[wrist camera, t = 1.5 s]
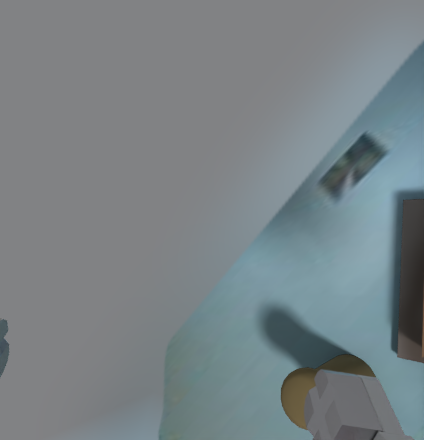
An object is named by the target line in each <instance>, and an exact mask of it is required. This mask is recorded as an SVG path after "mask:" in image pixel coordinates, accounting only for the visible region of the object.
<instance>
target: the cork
mask: <svg viewBox="0 0 424 440" xmlns="http://www.w3.org/2000/svg"><path fill="white" fill-rule="evenodd" d="M321 369H322V370H329V371H336V372H343V373H350V374H355V375H363V376H369V377H376V376H375V375H374V373H373V371H372V369H371V368H370V367H369V366H368V365H367V364H366V363H365V362H364V361H363V360H361V359H359V358H358V357H356V356H352V355H348V354H345V355H338V356H337V357H335V358H333V359H331V360H330V361H328V362H326V363H324V364H323V365H321V366H319V367H318V368H316V369H313V368H309V367H307V368H299V369H296V370H294V371H293V372H291V373H290V374H289V375H288V376H287V377H286V378H285V380H284V382H283V385H282V388H281V402H282V406H283V409H284V411H285V413H286V415H287V416H288V417H289V419H290V420H291V421H292V422H293V423H295V424H296V425H297V426H298V427H300V428H303V429H305V430H308V429H307V428H306V423H305V418H304V405H305V398H306V396H307V394H308V391H309V390H310V389H312V388H314V387H315V386H316V384H315V380H314V378H315V376H316V374H317V372H318V371H319V370H321Z"/></svg>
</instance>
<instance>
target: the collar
mask: <svg viewBox="0 0 424 440" xmlns="http://www.w3.org/2000/svg"><path fill="white" fill-rule="evenodd" d="M397 357H399V358H403V359H408V360H412V361H417V362H422V363H424V199H414V200H403V224H402V250H401V276H400V302H399V329H398V355H397Z"/></svg>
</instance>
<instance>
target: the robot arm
mask: <svg viewBox="0 0 424 440" xmlns="http://www.w3.org/2000/svg"><path fill="white" fill-rule="evenodd" d="M7 332H8V326H7V321H6V320H4V319H0V377H1V375H2V373H3V371H4V368H5V366H6V363H7V361H8V355H9V344H8V342H7V341H6V340H5V339H4V336H5V335H6V333H7ZM314 380H315V384H316V386H315V387H314V388H312V389H310V390H309V391H308V394H307V396H306V398H305V405H304V418H305V423H306V428H307V429H308V430H309V431H310V433H311V434H312V435H313V436H314V438H313V440H414V439H413V438H412V437H411V436H407V435H405V434H404V432H403V430H402V428H401V426H400V424H399V422H398V420H397V417H396V415H395V413H394V411H393V409H392V407H391V405H390V403H389V400H388V398H387V396H386V394H385V392H384V390H383V388H382V385H381V383H380V381H379V380H378V379H377V378H376V377H369V376H363V375H355V374H350V373H343V372H336V371H329V370H322V369H321V370H319V371H318V372H317V374H316V376H315V378H314Z"/></svg>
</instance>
